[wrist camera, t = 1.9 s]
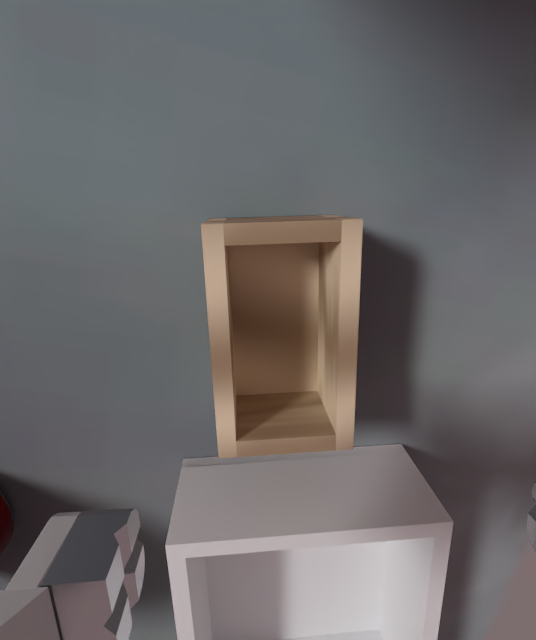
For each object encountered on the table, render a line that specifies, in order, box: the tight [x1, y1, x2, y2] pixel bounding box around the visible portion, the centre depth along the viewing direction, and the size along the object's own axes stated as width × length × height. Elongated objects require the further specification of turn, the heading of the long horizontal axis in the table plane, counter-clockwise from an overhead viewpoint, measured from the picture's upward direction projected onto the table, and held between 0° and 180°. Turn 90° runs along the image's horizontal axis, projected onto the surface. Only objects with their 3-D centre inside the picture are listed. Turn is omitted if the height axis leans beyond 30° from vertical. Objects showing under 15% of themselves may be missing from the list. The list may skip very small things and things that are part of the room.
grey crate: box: [165, 444, 453, 640], centre depth 22 cm, size 15×13×6 cm
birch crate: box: [201, 215, 363, 459], centre depth 18 cm, size 10×6×5 cm, turn 2°
